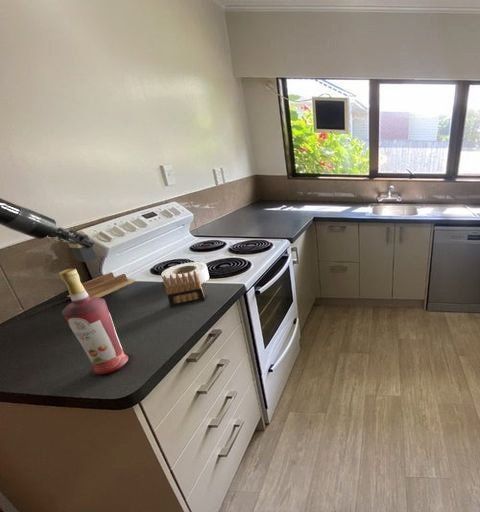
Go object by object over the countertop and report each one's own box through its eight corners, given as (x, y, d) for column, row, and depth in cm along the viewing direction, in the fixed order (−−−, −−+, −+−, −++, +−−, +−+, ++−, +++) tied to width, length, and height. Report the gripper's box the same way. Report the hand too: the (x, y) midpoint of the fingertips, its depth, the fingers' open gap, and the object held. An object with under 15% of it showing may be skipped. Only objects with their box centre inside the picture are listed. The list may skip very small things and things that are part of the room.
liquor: (137, 356, 79) (98, 263, 68) (119, 376, 72) (72, 277, 61) (107, 359, 78) (62, 265, 67) (86, 380, 71) (32, 279, 60)
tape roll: (187, 271, 128) (183, 260, 126) (217, 274, 125) (215, 263, 123) (154, 288, 114) (150, 276, 112) (188, 292, 111) (184, 279, 109)
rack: (67, 298, 107) (63, 289, 105) (113, 279, 121) (109, 270, 120) (90, 301, 105) (86, 292, 103) (134, 281, 119) (131, 273, 118)
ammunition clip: (205, 298, 107) (197, 269, 103) (205, 300, 106) (197, 271, 101) (171, 305, 103) (161, 275, 98) (170, 307, 101) (160, 277, 97)
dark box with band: (75, 261, 105) (65, 237, 101) (88, 256, 109) (79, 234, 105) (84, 262, 104) (74, 238, 101) (97, 257, 108) (87, 235, 104)
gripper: (51, 213, 91) (107, 237, 106) (19, 210, 93) (78, 234, 109) (37, 234, 88) (97, 255, 103) (4, 231, 91) (67, 252, 106)
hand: (87, 244), depth 106 cm, fingers closed on dark box with band, 4 cm apart
